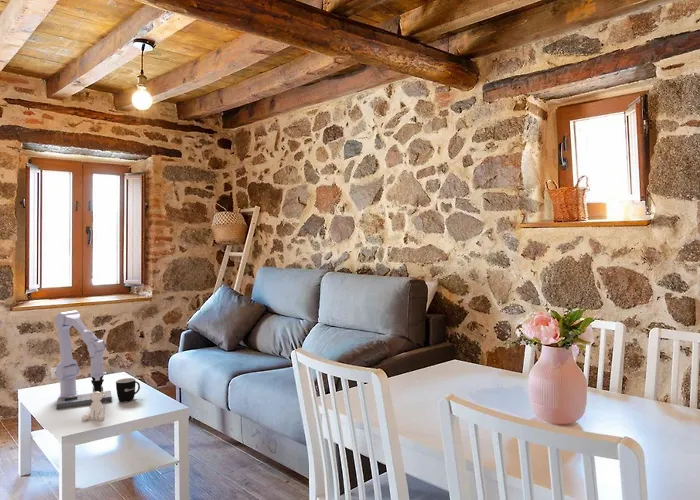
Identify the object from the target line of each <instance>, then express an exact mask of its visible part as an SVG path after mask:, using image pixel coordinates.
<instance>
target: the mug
mask: <svg viewBox="0 0 700 500" xmlns="http://www.w3.org/2000/svg"><path fill="white" fill-rule="evenodd" d="M136 385H137V389H136ZM115 387H116V395H117V399H118V401H119V402H120V403H130V402H132V401H134V398H135V395H136V394H138V393H139V391H140V389H141V385H140V382H138V381H137V380H136V378H135V377H134V378H133V377H126V378H119V379H117V380H116V381H115Z"/></svg>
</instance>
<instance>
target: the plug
mask: <svg viewBox="0 0 700 500" xmlns="http://www.w3.org/2000/svg"><path fill="white" fill-rule="evenodd" d="M94 392H95V390H94V386H92V393H94ZM102 392H104V386H103V385H102V387H101V393H102Z"/></svg>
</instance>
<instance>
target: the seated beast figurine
mask: <svg viewBox="0 0 700 500" xmlns="http://www.w3.org/2000/svg"><path fill="white" fill-rule="evenodd" d="M92 393H93V392H92ZM104 395H105V393H104V394H102V393H101V392H99V391H97V392H94V393H93V394H92V397H91V398H92V401H93V402H92V403H91V405H89V408H90V411H89V413H86V414H84V415H83V416H82V417H81V421H82V422H86V421H87V422H88V421H99V422H102V421H103V420H104V419H105V408H104V407H103V403H101V401H100V400H102V397H104Z"/></svg>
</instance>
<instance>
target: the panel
mask: <svg viewBox="0 0 700 500" xmlns="http://www.w3.org/2000/svg"><path fill="white" fill-rule="evenodd" d="M104 393H105V395H104V397H102V400H100V401H101V403H102V404H104V403H105V404H106V403H111V402H113V401H112V398H113V397H112V390H106V391H105V390H104V391H103V392H102V394H104ZM92 394H93V392H92V393H83V394H77V395H73V396H66V397H60V396H59V397H60V398H59V397H58V398H57V401H56V410H62V409H69V408H76V407H81V406H91V403H92V402H93V401H92V398H91V397H92Z"/></svg>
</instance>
